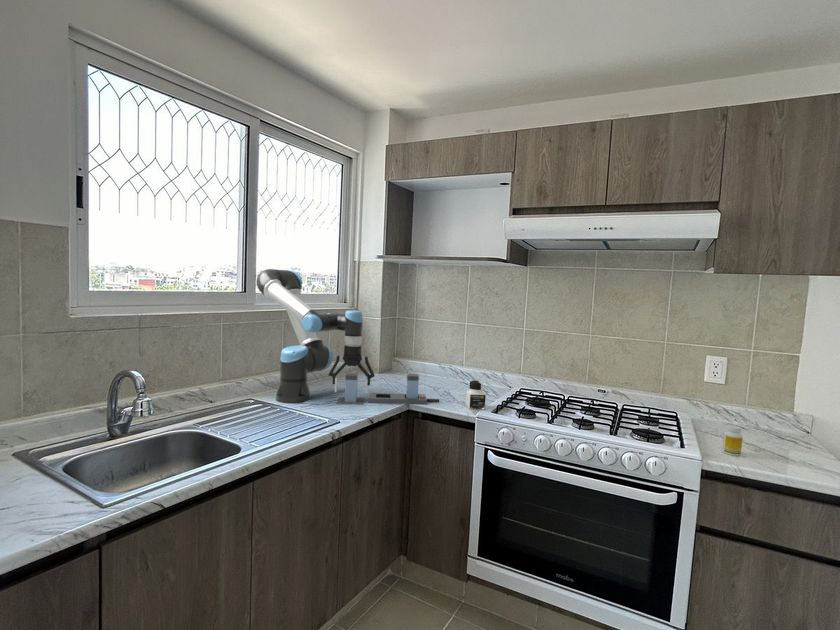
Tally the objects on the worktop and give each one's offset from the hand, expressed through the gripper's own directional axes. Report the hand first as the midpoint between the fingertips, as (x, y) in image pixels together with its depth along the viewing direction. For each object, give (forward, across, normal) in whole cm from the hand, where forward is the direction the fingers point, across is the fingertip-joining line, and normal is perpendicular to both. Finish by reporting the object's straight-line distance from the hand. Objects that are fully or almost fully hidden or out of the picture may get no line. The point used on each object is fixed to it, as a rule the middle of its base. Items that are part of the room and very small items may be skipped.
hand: (351, 392), depth 201 cm
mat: (+4, 0, 0) cm, 4 cm away
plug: (+4, 0, 0) cm, 4 cm away
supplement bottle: (+5, +138, -54) cm, 148 cm away
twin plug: (+3, +28, 0) cm, 28 cm away
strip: (+4, +24, 0) cm, 24 cm away
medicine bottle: (+5, +56, -4) cm, 56 cm away
